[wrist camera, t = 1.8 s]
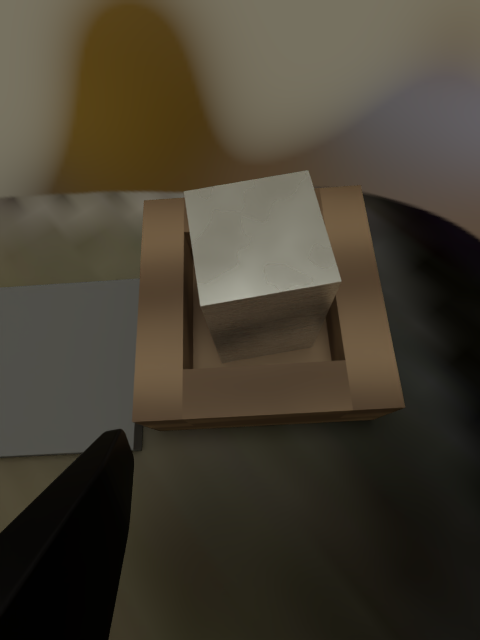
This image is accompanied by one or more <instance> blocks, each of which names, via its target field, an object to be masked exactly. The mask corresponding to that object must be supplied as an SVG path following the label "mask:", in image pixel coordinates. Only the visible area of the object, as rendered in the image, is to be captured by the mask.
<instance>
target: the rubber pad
mask: <svg viewBox="0 0 480 640" xmlns="http://www.w3.org/2000/svg"><path fill="white" fill-rule="evenodd" d="M139 284H140V279H127V280H111V281H96V282H80V283H65V284H49V285H34V286H19V287H3V288H0V458H5V457H24V456H44V455H63V454H82V453H83V452H84V451H85V450H86V449H87V448H88V447H89V446H90V445H91V444H92V443H93V442H94V441H95V440H96V439H97V438H98V437H99V436H100V435H101V434H102V433H104V432H105V431H109V430H114V429H123V430H124V432H125V434H126V436H127V439H128V442H129V445H130V448H131V450H132V451H141V450H142V431H143V425H139V424H136V423H133V422H132V411H133V393H134V375H135V357H136V338H137V320H138V302H139Z"/></svg>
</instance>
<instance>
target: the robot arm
mask: <svg viewBox="0 0 480 640" xmlns="http://www.w3.org/2000/svg"><path fill="white" fill-rule="evenodd" d="M133 472H134V457H133V453H132V450H131V448H130V445H129V442H128V439H127V436H126V434H125V432H124V430H123V429H114V430H109V431H105V432H104V433H102V434H101V435H100V436H99V437H98V438H97V439H96V440H95V441H94V442H93V443H92V444H91V445H90V446H89V447H88V448H87V449H86V450H85V451H84V452H83V453H82V454H81V455H80V456H79V457H78V458H77V459H76V460H75V461H74V462H73V463H72V464H71V465H70V466H69V467H68V468H67V469H65V470H64V471H63V472H62V473H61V474H60V475H59V476H58V477H57V478H56V479H55V480H54V481H53V482H52V483H51V484H50V485H49V486H48V487H47V488H46V489H45V490H44V491H43V492H42V493H41V494H40V495H39V496H38V497H37V498H36V499H35V500H34V501H33V502H32V503H31V504H30V505H29V506H28V507H27V508H25V509H24V510H23V511H22V512H21V513H20V514H19V515H18V516H17V517H16V518H15V519H14V520H13V521H12V522H11V523H10V524H9V525H8V526H7V527H6V528H5V529H4V530H3V531H2V532H1V533H0V640H108V639H109V633H110V628H111V623H112V617H113V612H114V607H115V602H116V596H117V591H118V586H119V580H120V575H121V570H122V564H123V559H124V554H125V548H126V543H127V538H128V531H129V523H130V512H131V499H132V486H133Z"/></svg>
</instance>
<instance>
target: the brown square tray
mask: <svg viewBox="0 0 480 640" xmlns="http://www.w3.org/2000/svg"><path fill="white" fill-rule="evenodd" d="M314 191H315V194H316V197H317V201H318V204H319V207H320V211H321V214H322V217H323V221H324V224H325V227H326V231H327V234H328V237H329V241H330V244H331V247H332V251H333V254H334V257H335V261H336V264H337V267H338V271H339V274H340V277H341V281H342V282H341V284H340V286H339V288H338V291H337V293H336V295H335V297H334V300H333V302H332V304H331V306H330V308H329V311H328V313H327V315H326V317H325V319H324V322H323V324H322V326H321V328H320V330H319V333H318V335H317V337H316V339H315V342H314V344H313V346H312V347H311V348H305V349H299V350H294V351H288V352H283V353H277V354H271V355H266V356H260V357H255V358H249V359H243V360H238V361H232V362H227V363H222V362H221V359H220V357H219V354H218V351H217V349H216V346H215V344H214V341H213V338H212V336H211V333H210V330H209V328H208V325H207V322H206V320H205V317H204V315H203V312H202V309H201V307H200V300H199V293H198V286H197V279H196V272H195V265H194V258H193V251H192V245H191V238H190V231H189V224H188V217H187V210H186V203H185V198H173V199H159V200H145V201H144V211H143V229H142V247H141V265H140V284H139V302H138V320H137V338H136V357H135V375H134V393H133V411H132V422H133V423H136V424H139V425H143V426H146V427H149V428H152V429H155V430H158V431H169V430H188V429H207V428H226V427H245V426H264V425H283V424H302V423H321V422H340V421H359V420H374V419H376V418H379V417H381V416H384V415H387V414H389V413H392V412H395V411H397V410H400V409H403V408H405V404H404V399H403V394H402V389H401V384H400V379H399V374H398V369H397V364H396V359H395V354H394V349H393V344H392V339H391V334H390V329H389V324H388V319H387V314H386V309H385V304H384V299H383V294H382V289H381V284H380V279H379V274H378V269H377V264H376V259H375V254H374V249H373V244H372V239H371V234H370V229H369V224H368V219H367V214H366V209H365V204H364V199H363V194H362V189H361V186H360V185H357V186H343V187H328V188H314Z"/></svg>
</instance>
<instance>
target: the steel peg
mask: <svg viewBox="0 0 480 640" xmlns="http://www.w3.org/2000/svg"><path fill="white" fill-rule="evenodd" d="M184 196H185V203H186V210H187V217H188V224H189V231H190V238H191V245H192V251H193V258H194V265H195V272H196V279H197V286H198V293H199V300H200V307H201V309H202V312H203V315H204V317H205V320H206V322H207V325H208V328H209V330H210V333H211V336H212V338H213V341H214V344H215V346H216V349H217V351H218V354H219V357H220V359H221V362H222V363H227V362H232V361H238V360H243V359H249V358H255V357H260V356H266V355H271V354H277V353H283V352H288V351H294V350H299V349H305V348H311V347H312V346H313V344H314V342H315V339H316V337H317V335H318V333H319V330H320V328H321V326H322V324H323V322H324V319H325V317H326V315H327V313H328V311H329V308H330V306H331V304H332V302H333V300H334V297H335V295H336V293H337V291H338V288H339V286H340V284H341V282H342V281H341V277H340V274H339V271H338V267H337V264H336V261H335V257H334V254H333V251H332V247H331V244H330V241H329V237H328V234H327V231H326V227H325V224H324V221H323V217H322V214H321V211H320V207H319V204H318V201H317V197H316V194H315V191H314V187H313V184H312V181H311V178H310V174H309V171H308V170H307V171H301V172H295V173H290V174H284V175H278V176H272V177H266V178H260V179H254V180H248V181H243V182H237V183H231V184H225V185H220V186H214V187H208V188H202V189H196V190H190V191H184Z"/></svg>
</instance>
